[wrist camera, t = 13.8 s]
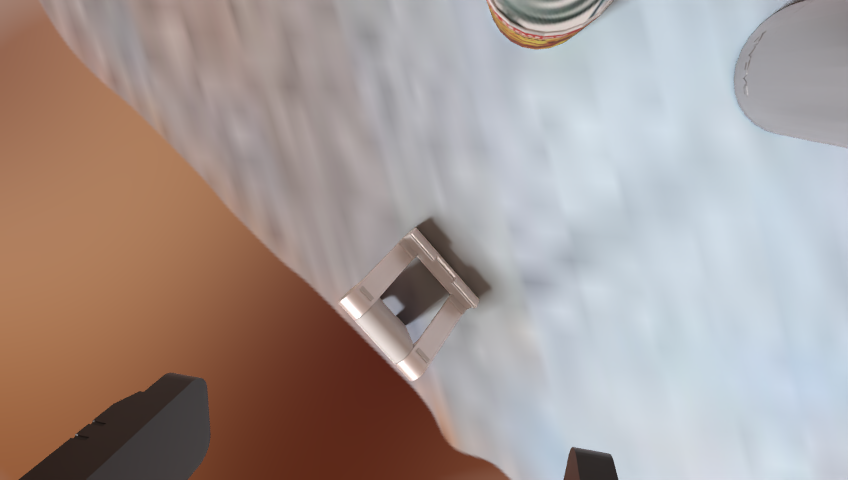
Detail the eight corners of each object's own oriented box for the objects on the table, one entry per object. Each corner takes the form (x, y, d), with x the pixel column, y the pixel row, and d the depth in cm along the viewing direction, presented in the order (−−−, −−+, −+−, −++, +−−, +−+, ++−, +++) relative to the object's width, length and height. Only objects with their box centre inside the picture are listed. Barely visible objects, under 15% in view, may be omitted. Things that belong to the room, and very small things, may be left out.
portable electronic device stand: (480, 295, 45) (472, 340, 37) (416, 341, 48) (397, 392, 40) (417, 224, 44) (396, 255, 36) (356, 275, 47) (324, 314, 39)
